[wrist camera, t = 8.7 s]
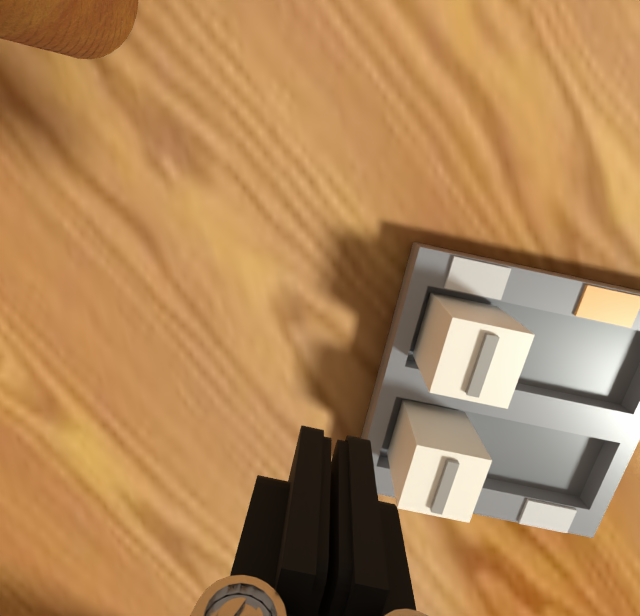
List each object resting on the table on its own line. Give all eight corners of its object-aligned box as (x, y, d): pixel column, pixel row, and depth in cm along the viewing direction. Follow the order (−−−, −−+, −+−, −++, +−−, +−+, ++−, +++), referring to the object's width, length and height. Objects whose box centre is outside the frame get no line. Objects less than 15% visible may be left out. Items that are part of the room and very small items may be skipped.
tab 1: (476, 368, 26) (509, 411, 21) (412, 354, 26) (430, 395, 21) (497, 306, 25) (537, 336, 20) (430, 292, 25) (454, 319, 20)
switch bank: (575, 513, 31) (594, 540, 28) (352, 467, 30) (353, 491, 28) (672, 297, 26) (704, 308, 24) (413, 241, 26) (420, 247, 24)
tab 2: (446, 465, 28) (470, 526, 23) (387, 453, 28) (398, 512, 23) (464, 412, 27) (494, 463, 22) (402, 398, 27) (417, 448, 22)
